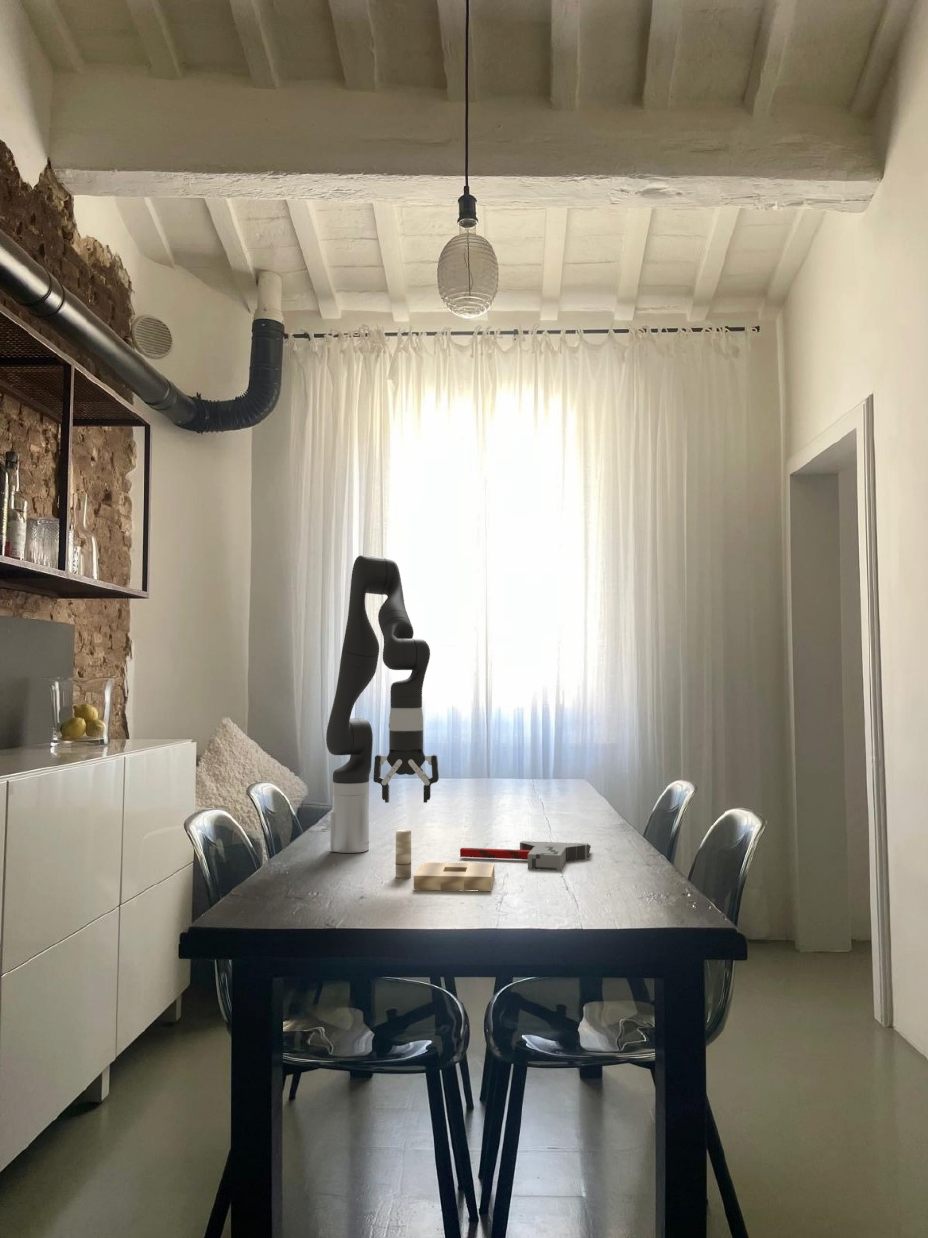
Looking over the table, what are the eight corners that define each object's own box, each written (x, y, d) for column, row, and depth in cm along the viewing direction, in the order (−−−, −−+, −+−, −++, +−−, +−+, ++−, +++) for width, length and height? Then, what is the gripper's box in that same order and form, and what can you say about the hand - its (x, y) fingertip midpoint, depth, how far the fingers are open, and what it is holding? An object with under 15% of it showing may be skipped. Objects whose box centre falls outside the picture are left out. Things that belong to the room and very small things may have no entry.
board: (413, 890, 198) (413, 875, 198) (422, 876, 212) (422, 862, 212) (491, 891, 196) (491, 876, 196) (494, 877, 210) (494, 863, 210)
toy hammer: (473, 834, 247) (590, 838, 240) (473, 849, 247) (590, 854, 240) (452, 851, 224) (581, 856, 217) (452, 867, 223) (581, 873, 217)
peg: (394, 878, 209) (394, 832, 210) (396, 875, 213) (396, 829, 213) (410, 878, 209) (410, 832, 210) (412, 875, 212) (412, 829, 213)
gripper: (439, 727, 216) (439, 800, 215) (376, 727, 217) (376, 800, 216) (436, 729, 208) (436, 804, 207) (371, 729, 209) (371, 804, 208)
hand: (406, 802), depth 212 cm, fingers open, 8 cm apart
